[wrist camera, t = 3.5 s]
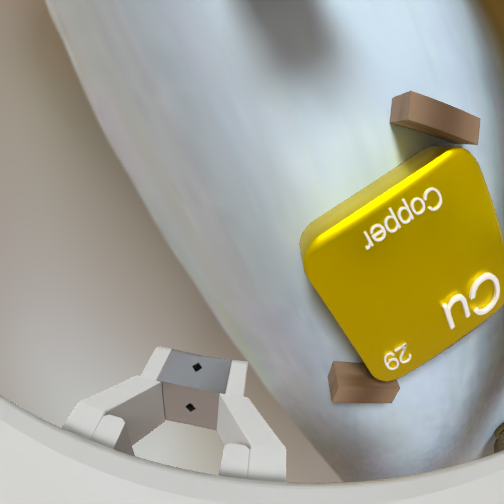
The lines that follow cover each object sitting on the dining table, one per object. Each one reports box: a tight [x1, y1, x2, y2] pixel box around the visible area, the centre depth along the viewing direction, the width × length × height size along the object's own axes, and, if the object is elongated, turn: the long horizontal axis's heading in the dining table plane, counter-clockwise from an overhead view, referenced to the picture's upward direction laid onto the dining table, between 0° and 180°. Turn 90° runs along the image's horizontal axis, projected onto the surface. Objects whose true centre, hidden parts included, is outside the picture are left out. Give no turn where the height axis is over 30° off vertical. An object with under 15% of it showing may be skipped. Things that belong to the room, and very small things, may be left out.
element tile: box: [299, 146, 504, 381], centre depth 21 cm, size 15×15×5 cm
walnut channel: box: [328, 91, 480, 403], centre depth 21 cm, size 6×25×4 cm, turn 173°
